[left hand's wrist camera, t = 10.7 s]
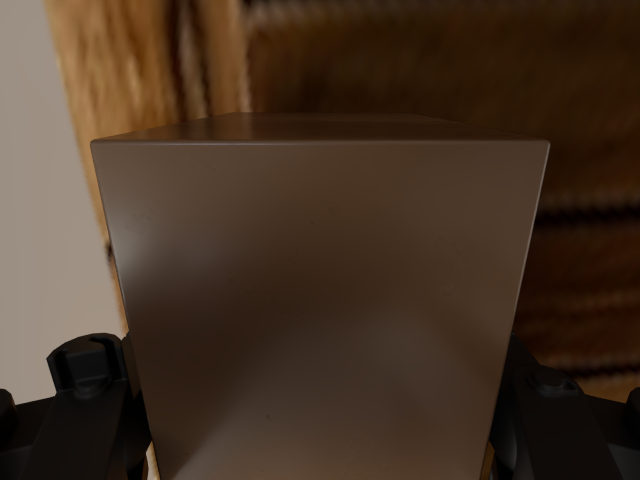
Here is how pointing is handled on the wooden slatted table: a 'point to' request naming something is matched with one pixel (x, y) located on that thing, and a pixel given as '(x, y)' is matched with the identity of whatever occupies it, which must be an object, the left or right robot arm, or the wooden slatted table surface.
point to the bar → (320, 289)
